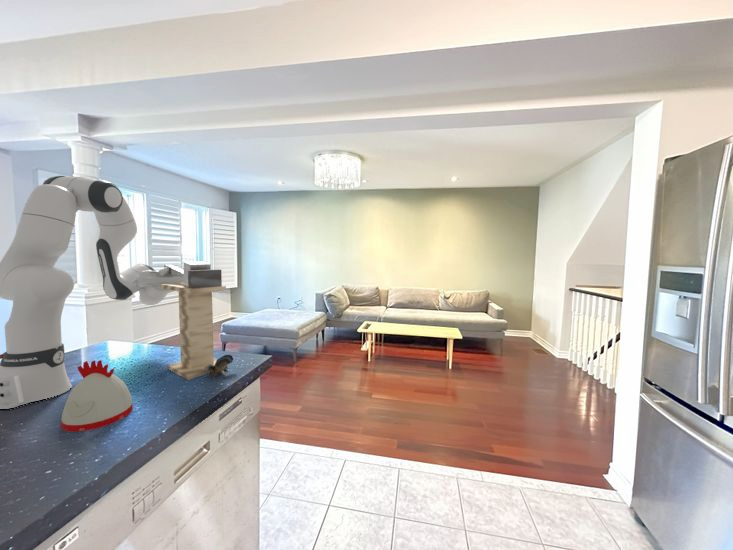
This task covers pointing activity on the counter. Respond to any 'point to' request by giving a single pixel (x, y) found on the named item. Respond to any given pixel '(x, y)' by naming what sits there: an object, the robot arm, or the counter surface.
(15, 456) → the counter surface
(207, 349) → the shelf
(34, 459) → the counter surface
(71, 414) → the kitchen timer
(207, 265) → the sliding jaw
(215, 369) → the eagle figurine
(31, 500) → the counter surface
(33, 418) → the counter surface
